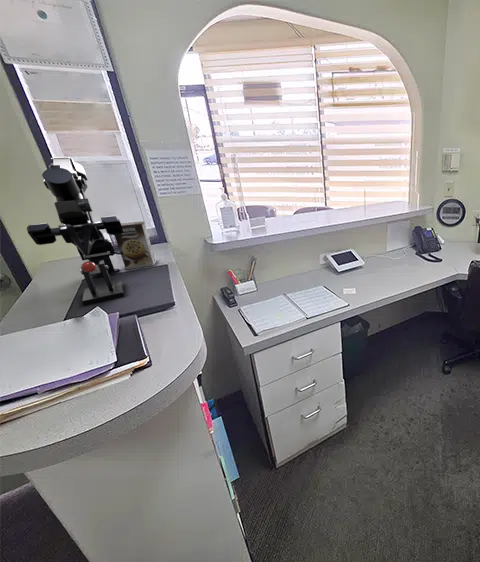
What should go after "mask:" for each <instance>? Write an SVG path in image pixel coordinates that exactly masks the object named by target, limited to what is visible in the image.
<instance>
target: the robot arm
mask: <svg viewBox="0 0 480 562" xmlns="http://www.w3.org/2000/svg"><path fill="white" fill-rule="evenodd" d="M50 160H51V163H50V164H49V166H48V167H49V168H47V169H45V170H43V172H42V174H41V177H42V178H43V184H44V186H45V188H46V189H47V190H49V191H50V193H51V194H52V195H53V196H54V197H55V200H56V201H55V202H54V207H55V209H56V212H57V216H58V220H59V222H60V224H58V225H57V226H58V227H51V226H50V225H49V223H48V222H44V223H35V224H28V225H27V227H26V231H27V234H28V236H30V238H31V239H32V241H33V242H34V243H35V245H37V246H43V245H49V244H54V243H55V242H56V241H57V237H62V239H63V240H64V242H65V243H66V244H72V245H74V246H75V247H76V249H77V253H78V254H79V256H80V258H81V261H88V262H93V263H94V264H95V265H97V264H98V265H99V261H102V260H104V263H105V265H107V266H108V269H109V270H107V271H108V273H109V275H111V274H113V273H117V272H120V271H121V270H120V269H119V268H115V267H114V264H113V261H112V260H111V257H112V256H114V255H116V251H115V248H114V246H113V244H112V242H111V241H110V240H109V239H108V238H106V237H105V236H104V234H103V232H102V230H105V232H106V235H110V236H114V235H116V234H122V233H124V231H123V228H122V225H121V224H122V223H121V220H120V217H119V216H117V215H108V216H106V215H105V216H100V220H101V221H95V222H94V219H93V215H92V212H93V208H92V205H91V203H90V199H89V198H88V197H87V198H86V195H85V192H86V190H87V189H88V184H87V181H89V180H88V179H89V178H88V176H87V173H86V171H85V168H84V167H83V165H82V164H80V163H78V162H76V161H75V160H73V158H72V157H69V156H53V157H51V158H50ZM99 267H100V265H99ZM100 270H101V268H100ZM90 275H91V274H90ZM91 277H104V276H103V273H102V271H101V273H99V274H93V275H91Z"/></svg>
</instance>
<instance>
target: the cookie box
mask: <svg viewBox="0 0 480 562" xmlns="http://www.w3.org/2000/svg"><path fill="white" fill-rule="evenodd" d="M121 225H122V228H123V231H124V233H122V234H116V235H113V236H114V239H115V242H116V244H117V247H118V251H119V253H120V257H121V259H122V262H123V265H124V268H125V270H131V269H132V270H133V269H138V268H145V267H153V266H155V264H156V263H157V260H156V256H155V254H154V249H153V247H152V243H151V241H150V236H149V233H148V230H147V226H146V223H145V221H137V222H136V221H135V222H123V223H121Z"/></svg>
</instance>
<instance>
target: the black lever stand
mask: <svg viewBox="0 0 480 562" xmlns="http://www.w3.org/2000/svg"><path fill="white" fill-rule="evenodd" d="M82 264H83V263H81V264H80V270H79V272H80V274H81V275H83V277H84V280H85V282H86V284H87V287H86V288H84V289H83V294H82V298H81V303H82V305H83V306H88V305H89V306H90V305H93V304H97V303H102V302H106V301H110V300H111V301H112V300H114V299H118V298H124V297H125V292H124V285H123V282H122V281H121V280H120V281H115V282H113V281H112V279H111V275H110V274H109V273H108V271H107V270H109V269H108V266H107V265H105V263H104V260H102V261H99V265H100V268H101V271H102V273H103V276H102V277H103V278H104V281H105V284H101V285H97V286H96V285H95V282H94V280H93V276H91V275H90V272H85V271H84V270H83V269H82V267H81V266H82Z"/></svg>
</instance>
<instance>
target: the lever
mask: <svg viewBox="0 0 480 562" xmlns="http://www.w3.org/2000/svg"><path fill="white" fill-rule="evenodd" d="M81 264H82V266H81V265H80V268H81V267H82V269H83V270H84V271H85V272H90V274H91V275H93V274H99V273H101V270H100V267H99V265H98V264H97V265H95V264H94V263H93V262H89V261H85V262H83V263H81Z"/></svg>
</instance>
